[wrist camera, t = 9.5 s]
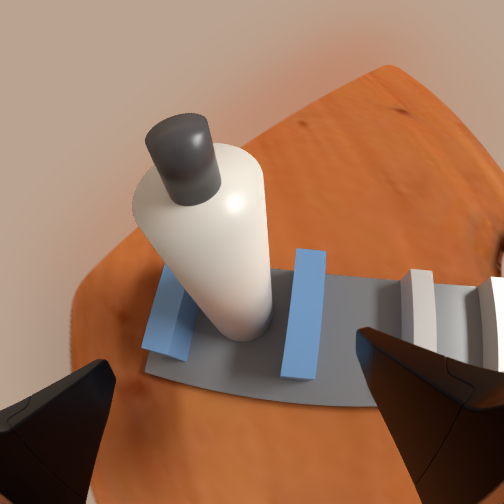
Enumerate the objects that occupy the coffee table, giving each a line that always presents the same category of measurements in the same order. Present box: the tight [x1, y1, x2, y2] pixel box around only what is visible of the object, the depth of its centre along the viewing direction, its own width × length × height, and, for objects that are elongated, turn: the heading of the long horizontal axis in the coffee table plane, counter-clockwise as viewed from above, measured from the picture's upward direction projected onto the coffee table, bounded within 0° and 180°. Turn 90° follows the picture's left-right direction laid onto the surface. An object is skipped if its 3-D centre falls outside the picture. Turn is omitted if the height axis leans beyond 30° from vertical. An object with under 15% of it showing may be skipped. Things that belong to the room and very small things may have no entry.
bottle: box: [132, 113, 273, 342], centre depth 12 cm, size 4×4×14 cm
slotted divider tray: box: [141, 248, 504, 406], centre depth 15 cm, size 9×28×4 cm, turn 80°
